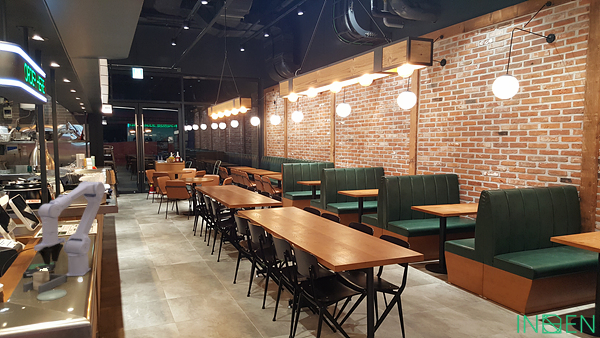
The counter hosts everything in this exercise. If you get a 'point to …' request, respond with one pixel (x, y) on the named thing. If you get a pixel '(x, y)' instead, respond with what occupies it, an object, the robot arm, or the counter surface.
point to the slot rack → (47, 283)
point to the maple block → (40, 278)
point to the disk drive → (37, 269)
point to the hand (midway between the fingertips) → (51, 262)
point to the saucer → (51, 295)
